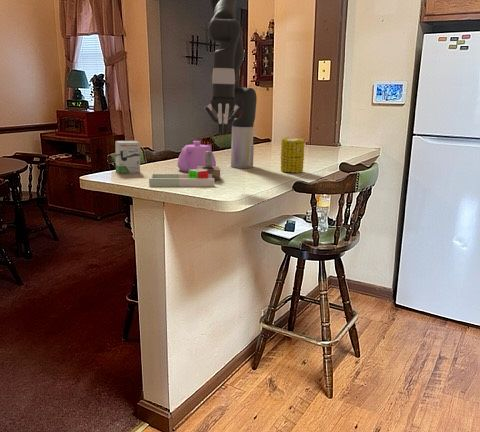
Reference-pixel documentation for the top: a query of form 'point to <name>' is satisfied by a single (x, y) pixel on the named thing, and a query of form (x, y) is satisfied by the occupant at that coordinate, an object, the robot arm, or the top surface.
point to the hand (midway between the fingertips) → (222, 134)
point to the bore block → (212, 172)
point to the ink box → (127, 156)
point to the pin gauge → (208, 160)
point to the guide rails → (195, 180)
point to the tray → (163, 180)
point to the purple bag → (194, 156)
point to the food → (292, 155)
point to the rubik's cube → (198, 173)
